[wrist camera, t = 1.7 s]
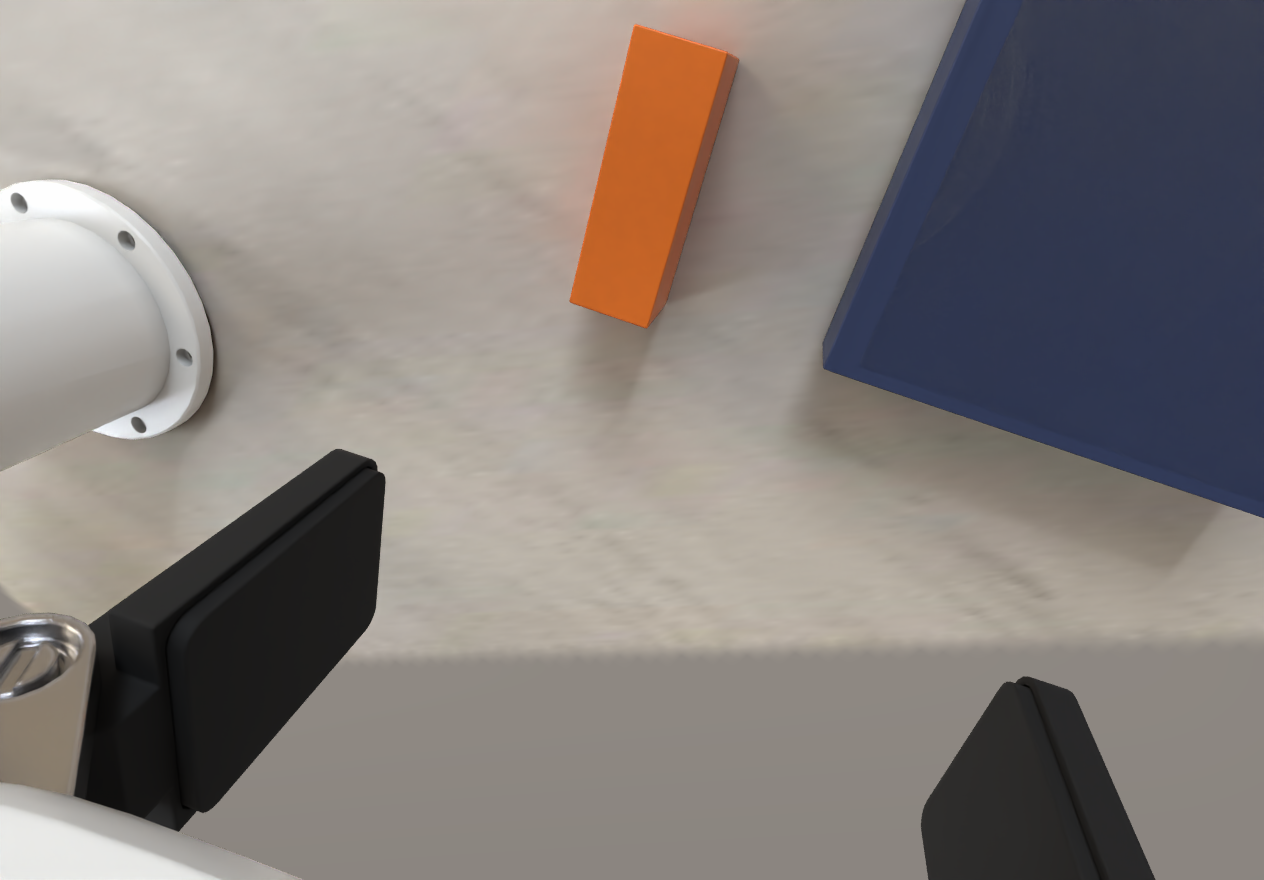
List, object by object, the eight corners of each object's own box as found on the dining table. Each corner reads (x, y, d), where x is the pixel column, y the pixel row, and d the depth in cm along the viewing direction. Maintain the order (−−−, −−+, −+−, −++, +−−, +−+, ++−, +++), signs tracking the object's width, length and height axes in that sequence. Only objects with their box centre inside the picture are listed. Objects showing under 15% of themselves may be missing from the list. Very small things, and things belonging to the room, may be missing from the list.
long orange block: (595, 280, 29) (568, 302, 26) (657, 33, 25) (633, 23, 22) (665, 304, 29) (647, 329, 26) (739, 58, 25) (728, 52, 21)
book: (822, 344, 28) (822, 369, 25) (1159, -462, 18) (1219, -561, 15) (1242, 485, 27) (1289, 526, 24) (1868, -302, 16) (2068, -380, 14)
